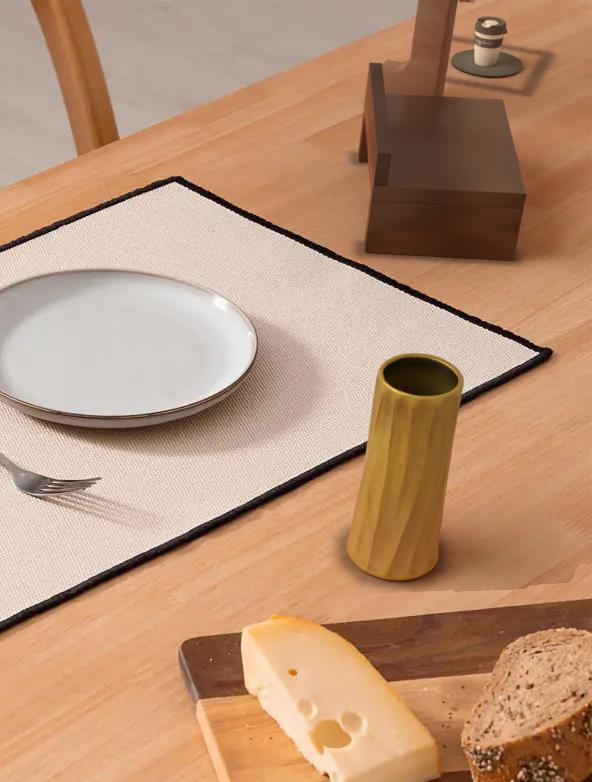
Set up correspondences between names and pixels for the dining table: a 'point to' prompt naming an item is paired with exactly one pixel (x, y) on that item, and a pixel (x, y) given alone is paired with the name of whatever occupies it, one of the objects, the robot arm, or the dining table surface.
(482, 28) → the coffee cup
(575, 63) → the dining table surface
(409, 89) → the wooden block
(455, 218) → the wooden box with backboard
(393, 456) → the vase
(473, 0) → the robot arm
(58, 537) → the dining table surface
